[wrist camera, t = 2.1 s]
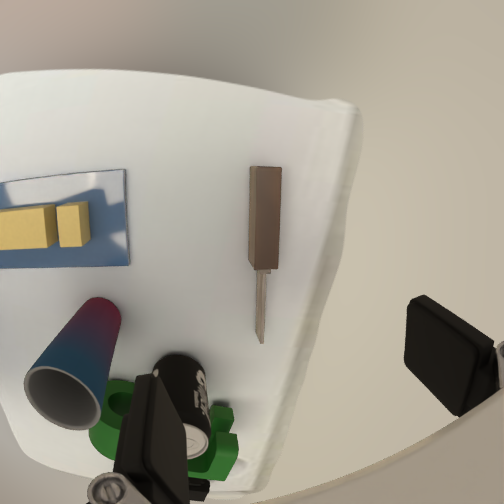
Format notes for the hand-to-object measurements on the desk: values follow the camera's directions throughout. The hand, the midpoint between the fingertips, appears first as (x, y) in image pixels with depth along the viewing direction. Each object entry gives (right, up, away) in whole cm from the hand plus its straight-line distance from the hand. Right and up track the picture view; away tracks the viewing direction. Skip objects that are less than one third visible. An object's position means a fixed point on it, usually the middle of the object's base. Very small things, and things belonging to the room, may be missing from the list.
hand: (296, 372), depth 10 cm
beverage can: (-11, -11, +26) cm, 30 cm away
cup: (-19, -3, +23) cm, 30 cm away
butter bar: (-26, +7, +17) cm, 32 cm away
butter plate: (-23, +7, +19) cm, 31 cm away
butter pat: (-19, +7, +19) cm, 28 cm away
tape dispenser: (-14, -21, +23) cm, 34 cm away
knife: (-1, +4, +24) cm, 24 cm away
